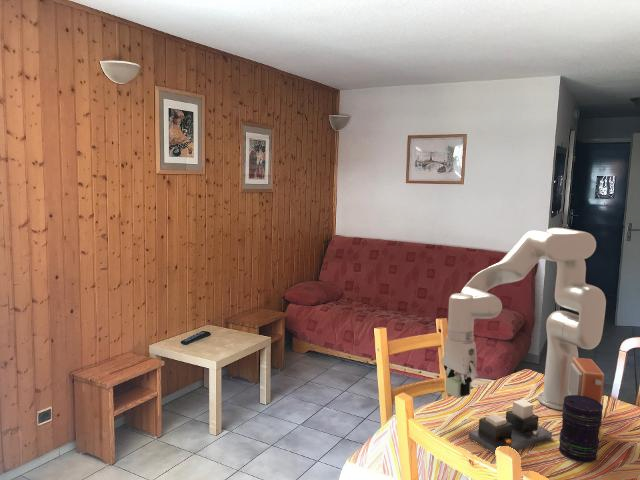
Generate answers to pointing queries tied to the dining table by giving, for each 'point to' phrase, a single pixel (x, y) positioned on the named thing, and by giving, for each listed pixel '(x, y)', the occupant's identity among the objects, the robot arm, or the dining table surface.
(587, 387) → the orange fan heater
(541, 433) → the breaker board
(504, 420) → the tagged breaker button
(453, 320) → the robot arm
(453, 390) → the cap
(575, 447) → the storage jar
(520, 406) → the breaker button
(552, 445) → the dining table surface
